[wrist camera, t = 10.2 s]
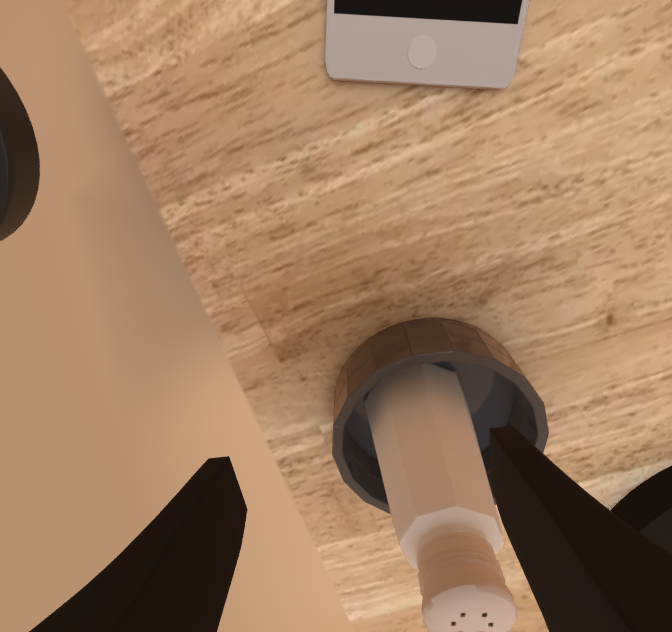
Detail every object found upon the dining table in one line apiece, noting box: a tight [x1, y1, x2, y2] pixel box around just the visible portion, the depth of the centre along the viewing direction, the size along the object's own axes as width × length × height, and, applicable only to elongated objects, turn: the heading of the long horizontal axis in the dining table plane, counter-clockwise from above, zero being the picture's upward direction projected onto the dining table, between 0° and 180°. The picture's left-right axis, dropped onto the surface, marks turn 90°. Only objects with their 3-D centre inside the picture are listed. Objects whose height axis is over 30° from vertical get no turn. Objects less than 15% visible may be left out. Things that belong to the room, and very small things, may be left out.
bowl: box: [332, 318, 549, 514], centre depth 21 cm, size 10×10×4 cm
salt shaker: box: [365, 363, 518, 632], centre depth 17 cm, size 5×5×11 cm
